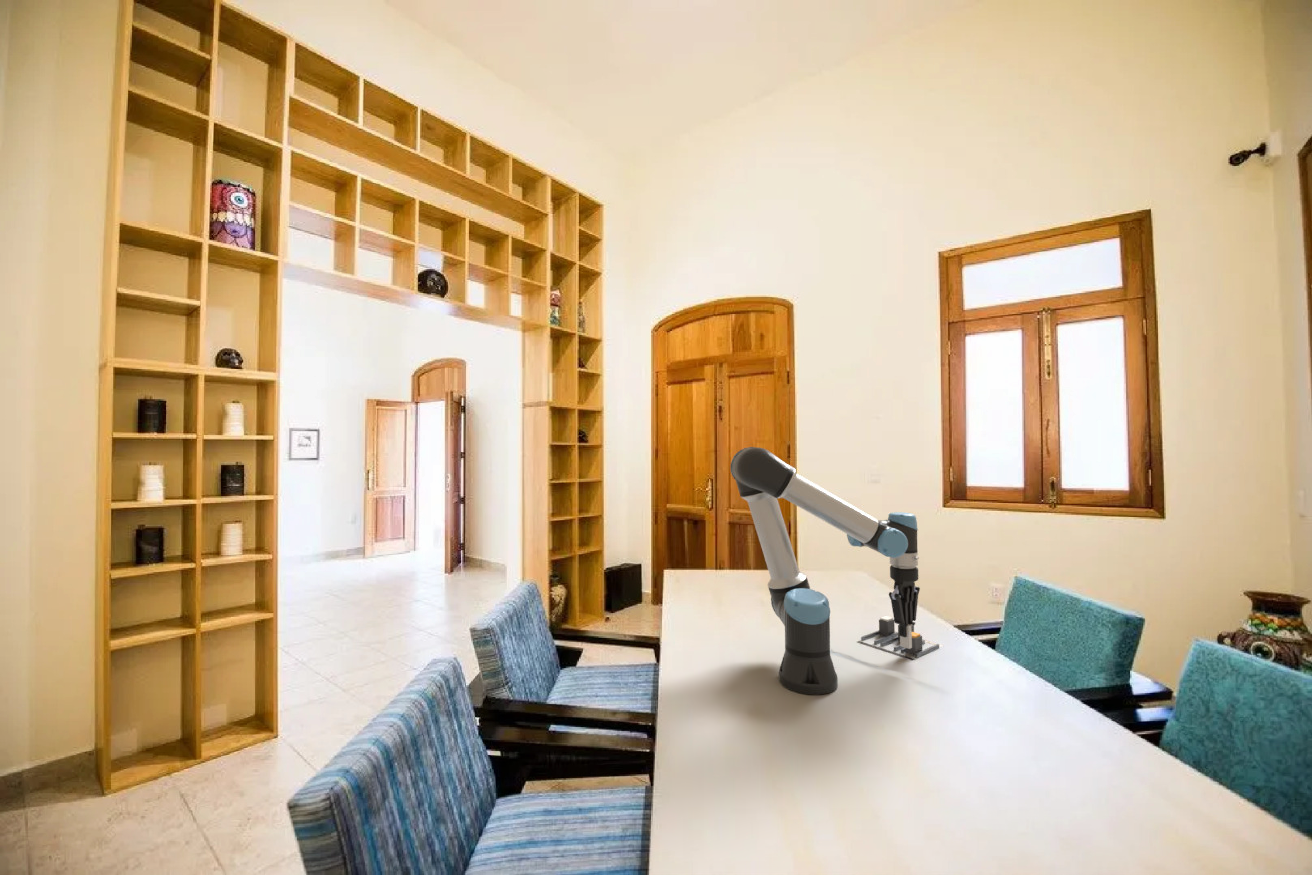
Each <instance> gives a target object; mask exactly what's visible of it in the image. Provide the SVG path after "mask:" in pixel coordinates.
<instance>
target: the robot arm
mask: <svg viewBox="0 0 1312 875" xmlns="http://www.w3.org/2000/svg"><path fill="white" fill-rule="evenodd" d="M730 473H731V476H732V478H733V479H734V480H735V483H736V486H737V490H738V492H739V493H738V494H739V496H740V498H741V499H743V500H745V501H746V502H747V505H748V507H749V511H750V514H751V517H752V520H753V521H752V522H753V524H754V528H755V531H756V534H757V537H758V541H759V544H760V547H761V550H762V554H763V556H764V560H765V563H766V568H767V570H768V573H769V576H770V577H769V578H770V579H769V581H768V582H767V588H768V590H769V594H770V602H771V608H772V610H773V611H774V613H775V615H776V616H777V617H778V618H779V619H780V621H781V623H782V624H783V626H784V654H783V656H782V661H781V663H780V667H779V669H778V681H779V683H780V684H781V685H782V686H783V687H784V688H786V689H788V690H790V691H792V692H796V693H799V694H804V695H805V694H806V695H815V696H816V695H817V696H818V695H820V696H821V695H827V694H830V693H832V692H834V691H836V690H837V688H838V686H839V685H838V679H839V678H838V674H837V672H836V670H835V667H834V663H833V660H832V656H831V634H830V633H831V629H830V627H831V626H830V625H831V624H830V623H831V619H830V617H831V608H830V601H829V599H828V597H827V596H826V595H825V594H824V593H823V592H821V591H817V590H814V589H811V587H810V584H809V580H808V576H807V575H806V573H803V572H802V571H800V569H799V566H798V565H799V564H798V562H797V559H796V556H795V553H794V549H793V546H792V542H791V539H790V536H789V533H788V529H787V526H786V523H785V519H784V517H783V514H782V510H781V507H780V503H779V500H778V499H784V500H787V501H788V502H790V503H791V504H793V505H795V506H797V507H799V508H800V509H802V510H804V511H805V512H807V513H809V514H811V515H813V516H814V517H817V519H820V520H821V521H823V522H825V523H827V524H829V525H830V526H832V527H834V528H835V529H838V530H839V531H840V532H841V531H842V532H843V533H845V534H846V538H847V540H848V544H850V546H852V547H859V548H861V547H865V548H866V547H867V548H869V549H871V550H873V551H875V552H877V553H879V554H881V555H883V556H885V557H889V564H890V566H889V578H890V579H891V580H893V581H894V585H893V591H892V592H891V591H889V593H888V596H889V599H890V603H891V609H892V616H893V619H894V624H896V625H900V641H899V645H900V646H901V647H905V648H908V649H910V648H912V632H911V625H914V626H915V625H916V622H915V621H916V620H917V612H918V601H919V600H918V599H919V593H920V590H921V588H920V586H916V584H915V583H916V582H917V581H919V568H918V565H919V563H918V562H919V556H918V531H919V529H918V521H917V517H916V515H915V514H913V513H910V512H902V511H901V512H899V511H898V512H897V511H895V512H890V513H889V514H888V518H887V519H884V520H881V519H880V520H879V519H877V518H876V517H874V516H872V515H870V514H869V513H867V512H865V511H863V510H861V509H860V508H858V507H856V506H854V505H853V504H851V503H849V502H847V501H846V500H845V499H842V498H840V497H839V496H837V495H835V494H833V493H831V492H830V491H828V490H826V489H825V488H822V487H821V486H819V485H818V484H816V483H814V482H812V481H811V480H809V479H807V478H805V477H804V476H802V475H800V474H798V473H797V471H796V468H795V467H794V466H792V465H790V464H788V463H786V462H785V461H783V460H782V459H781V458H779V457H778V456H777V455H775V454H774V453H772V452H771V451H769V450H768V449H766V448H764V447H763V448H762V447H754V446H749V447H744V448H742V449H740V450H739V451H737V452H736V454H735V455H734V456H733V458H732V459H731V463H730Z"/></svg>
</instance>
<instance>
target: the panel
mask: <svg viewBox="0 0 1312 875" xmlns="http://www.w3.org/2000/svg"><path fill="white" fill-rule="evenodd" d="M876 636H880V635H879V629H878V630H876V631H873V632H870V633H868V634H866V635H863V636H861V638H860V640H858V641H856V643H858V644H860V645H864V646H866V647H870V648H873V649H876V650H878V651H882V652H884V653H888V654H890V655H891V654H892V655H894V656H898V657H900V658H902V659H903V658H904V659H907V660H910V661H914V660H915V659H918V658H920V657H923V656H925V655H927V654H929V653H931V652H934V651H935V650H938V649H939V648H941V647H944V645H942V644H939V643H936V642H933V641H930V640H926V639H923V638H922V646H923V645H925V644H930V645H932V646H929V647H927V648H925V649H922V651H920V652H918V653H916V654H915V656H914V658H913V657H911V656H907V655H904V653H905V647H901V646H900V644H898V645H896V646H893V651H892V650H889V649H886V648H883V647H885V646H888V645H890V644H893V643H894V642H897V641H898V631H895V633H893V634H890V635H888V636H885V637H884V636H882V637H880V638H878V639H875V640H874V641H873V644H874V645H873V644H870V643H867V642H864V641H866V640H868V639H871V638H874V637H876ZM898 642H899V641H898ZM879 644H880V646H877V645H879ZM875 645H876V646H875ZM898 651H900V653H898ZM905 654H906V653H905Z"/></svg>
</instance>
